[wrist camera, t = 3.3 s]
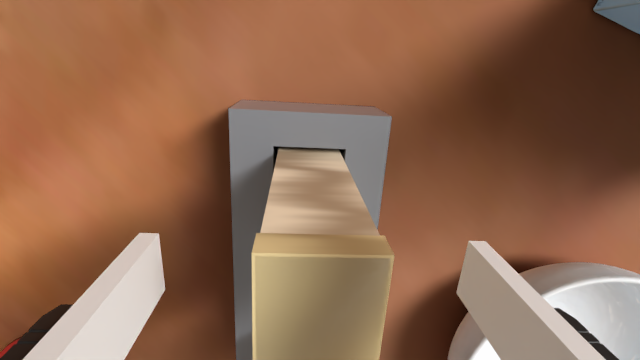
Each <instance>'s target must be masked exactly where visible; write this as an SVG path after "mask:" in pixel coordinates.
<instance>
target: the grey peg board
mask: <svg viewBox="0 0 640 360" xmlns="http://www.w3.org/2000/svg"><path fill="white" fill-rule="evenodd" d="M228 110H229V143H230V175H231V207H232V240H233V272H234V305H235V337H236V360H253V345H252V249H253V245H254V241H255V237H256V233H260V231H261V227H262V222H263V218H264V213H265V209H266V204H267V199H268V195H269V190H270V186H271V181H272V177H273V172H274V167H275V163H276V158H277V154H278V149H279V146H281V147H305V148H329V149H339V151H340V153H341V155H342V157H343V159H344V161H345V163H346V165H347V167H348V169H349V172H350V174H351V176H352V178H353V180H354V182H355V184H356V186H357V188H358V190H359V192H360V195H361V197H362V199H363V201H364V203H365V205H366V207H367V209H368V211H369V213H370V216H371V218H372V220H373V222H374V224H375V226H376V228H377V229H378V222H379V214H380V206H381V198H382V190H383V182H384V174H385V166H386V159H387V151H388V143H389V135H390V127H391V119H392V116H390V115H388V114H386V113H385V112H383V111H381V110H379V109H378V108H376V107H372V106H352V105H333V104H314V103H294V102H275V101H256V100H240V101H239V102H237V103H236V104H234V105H233V106H231V107H230V108H228Z"/></svg>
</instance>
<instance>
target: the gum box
mask: <svg viewBox="0 0 640 360" xmlns="http://www.w3.org/2000/svg"><path fill="white" fill-rule="evenodd" d="M593 10H594V12H596V13H598V14H600V15H602V16H604V17H606V18H608V19H610V20H612V21H614V22H616V23H618V24H620V25H622V26H624V27H626V28H628V29H630V30H632V31H634V32H636V33H638V34H640V0H598V1H597V3H596V5H595V7H594V9H593Z"/></svg>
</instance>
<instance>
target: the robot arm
mask: <svg viewBox="0 0 640 360" xmlns="http://www.w3.org/2000/svg"><path fill="white" fill-rule="evenodd" d="M164 291H165V282H164V274H163V265H162V256H161V248H160V239H159V233H139V234H138V235H137V236H136V237H135V238H134V239H133V240H132V242H131V243H130V244H129V245H128V246H127V247H126V248H125V249H124V250H123V251H122V252H121V253H120V255H119V256H118V257H117V258H116V259H115V260H114V261H113V262H112V263H111V264H110V265H109V266H108V268H107V269H106V270H105V271H104V272H103V273H102V274H101V275H100V276H99V277H98V278H97V279H96V281H95V282H94V283H93V284H92V285H91V286H90V287H89V288H88V289H87V290H86V291H85V292H84V294H83V295H82V296H81V297H80V298H79V299H78V300H77V301H76V302H75V303H74V304H73V305H59V306H58V307H56V308H55V309H53V310H51V311H50V312H48V313H47V314H45V315H43V316H42V317H41V318H40V319H39V320H38V321H37V322H36V323H35V324H34V325H33V326H32V327H31V328H30V329H29V332H28V333H25V334H24V335H23V336H22V337H21V338H20V339H19V340H18V341H17V344H14V345H13V346H12V347H11V348H10V349H9V350H8V351H7V352H6V353H5V354H4V355H3V356H2V357H1V358H0V360H124V359H125V358H126V356H127V354H128V352H129V351H130V349H131V347H132V346H133V344H134V342H135V340H136V339H137V337H138V335H139V334H140V332H141V330H142V328H143V327H144V325H145V323H146V322H147V320H148V318H149V316H150V315H151V313H152V311H153V310H154V308H155V306H156V305H157V303H158V301H159V299H160V298H161V296H162V294H163V293H164ZM456 293H457V295H458V296H459V298H460V299H461V301H462V302H463V304H464V305H465V307H466V308H467V310H468V311H469V313H470V314H471V316H472V317H473V319H474V320H475V322H476V323H477V325H478V326H479V328H480V329H481V331H482V332H483V334H484V335H485V337H486V338H487V340H488V341H489V343H490V344H491V346H492V347H493V349H494V350H495V352H496V353H497V355H498V356H499V358H500V359H501V360H619V359H618V358H617V357H616V356H615V355H614V354H613V353H612V352H610V351H609V350H608V349H607V348H606V347H605V346H604V345H603V344H600V342H599V340H598V339H597V338H596V337H595V336H594V335H592V334H591V333H589V331H588V330H587V329H586V328H585V327H584V326H583V325H582V324H581V323H580V322H579V321H578V320H577V319H575V318H574V317H572V316H571V315H569V314H568V313H566V312H564V311H563V310H561V309H560V308H553V307H552V306H551V305H550V304H549V303H548V302H547V301H546V300H545V299H544V298H543V297H542V296H541V295H540V294H539V293H538V292H537V291H535V290H534V289H533V288H532V287H531V286H530V285H529V284H528V283H527V282H526V281H525V280H524V279H523V278H522V277H521V276H520V275H519V274H518V273H517V272H516V271H515V270H514V269H513V268H512V267H511V266H510V265H509V264H508V263H507V262H506V261H505V260H504V259H503V258H502V257H501V256H500V255H499V254H498V253H497V252H496V251H495V250H494V249H493V248H492V247H491V246H490V245H489V244H488V243H487V242H486V241H468V245H467V250H466V254H465V258H464V262H463V267H462V271H461V275H460V279H459V284H458V288H457V292H456Z"/></svg>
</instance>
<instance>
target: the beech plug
mask: <svg viewBox="0 0 640 360" xmlns="http://www.w3.org/2000/svg"><path fill="white" fill-rule="evenodd" d="M394 256H395V255H394V253H393V251H392V249H391V247H390V245H389V243H388V241H387V239H386V237H385V236H380V234H379V232H378V230H377V228H376V226H375V224H374V222H373V220H372V218H371V216H370V213H369V211H368V209H367V207H366V205H365V203H364V201H363V199H362V197H361V195H360V192H359V190H358V188H357V186H356V184H355V182H354V180H353V178H352V176H351V174H350V172H349V169H348V167H347V165H346V163H345V161H344V159H343V157H342V155H341V153H340V151H339V149H329V148H305V147H281V146H279V149H278V154H277V158H276V163H275V167H274V172H273V177H272V181H271V186H270V190H269V195H268V199H267V204H266V209H265V213H264V218H263V222H262V227H261V231H260V233H256V237H255V241H254V245H253V249H252V345H253V360H379V356H380V349H381V343H382V336H383V329H384V323H385V316H386V309H387V303H388V296H389V289H390V283H391V276H392V269H393V263H394Z"/></svg>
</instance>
